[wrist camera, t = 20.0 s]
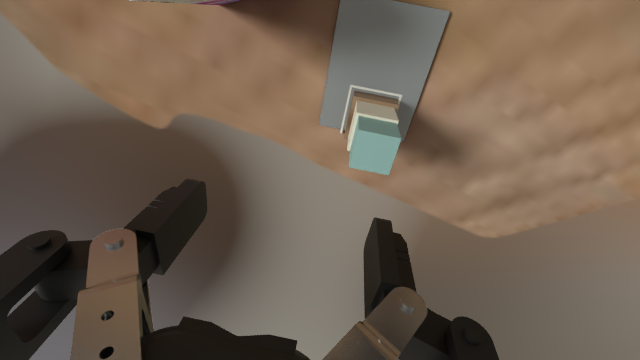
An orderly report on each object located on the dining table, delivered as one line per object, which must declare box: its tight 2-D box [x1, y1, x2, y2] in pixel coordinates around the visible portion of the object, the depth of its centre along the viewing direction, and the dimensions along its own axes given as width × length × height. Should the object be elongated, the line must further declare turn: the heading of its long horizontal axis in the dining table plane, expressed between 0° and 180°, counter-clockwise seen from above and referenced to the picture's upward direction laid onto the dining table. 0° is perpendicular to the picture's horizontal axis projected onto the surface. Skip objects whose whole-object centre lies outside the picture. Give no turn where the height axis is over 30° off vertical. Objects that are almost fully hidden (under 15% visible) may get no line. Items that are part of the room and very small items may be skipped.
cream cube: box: [347, 100, 399, 151], centre depth 36 cm, size 5×5×5 cm
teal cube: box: [349, 116, 402, 175], centre depth 32 cm, size 4×4×4 cm
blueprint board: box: [319, 0, 450, 142], centre depth 38 cm, size 18×13×1 cm
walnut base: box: [344, 90, 399, 139], centre depth 39 cm, size 6×6×3 cm
